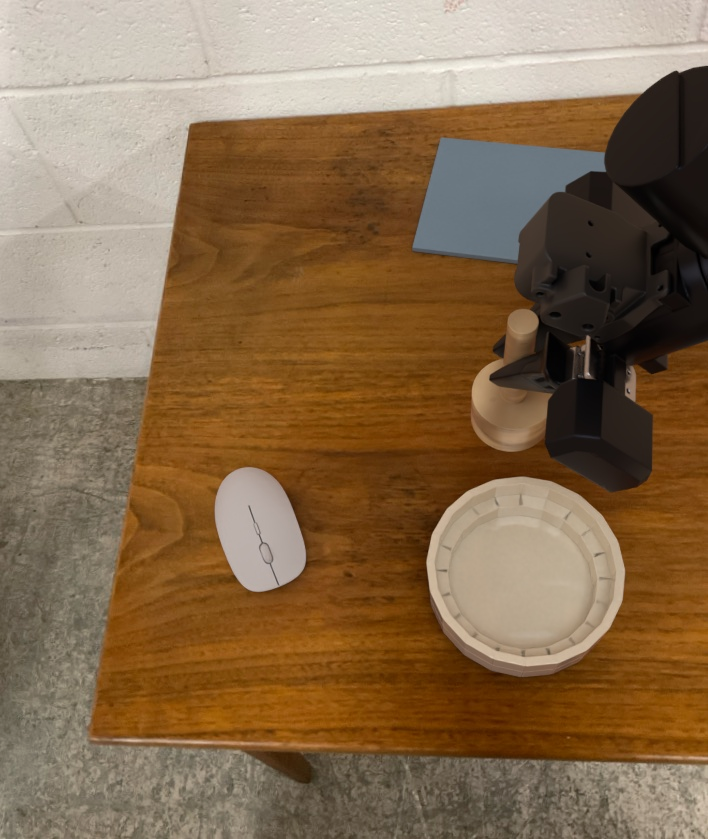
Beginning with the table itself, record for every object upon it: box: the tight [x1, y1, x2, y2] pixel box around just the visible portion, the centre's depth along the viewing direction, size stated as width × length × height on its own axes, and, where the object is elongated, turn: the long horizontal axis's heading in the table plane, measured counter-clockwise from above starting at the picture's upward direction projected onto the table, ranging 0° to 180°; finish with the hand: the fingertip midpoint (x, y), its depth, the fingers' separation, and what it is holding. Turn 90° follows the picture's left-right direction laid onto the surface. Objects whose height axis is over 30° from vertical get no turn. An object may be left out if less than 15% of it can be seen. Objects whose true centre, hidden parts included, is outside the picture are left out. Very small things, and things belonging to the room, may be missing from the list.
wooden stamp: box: [470, 308, 552, 453], centre depth 52 cm, size 6×6×12 cm
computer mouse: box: [214, 466, 307, 593], centre depth 61 cm, size 6×10×3 cm, turn 21°
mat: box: [411, 136, 606, 265], centre depth 75 cm, size 20×14×1 cm
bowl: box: [425, 476, 626, 678], centre depth 57 cm, size 13×13×4 cm
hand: (495, 366), depth 52 cm, fingers closed on wooden stamp
